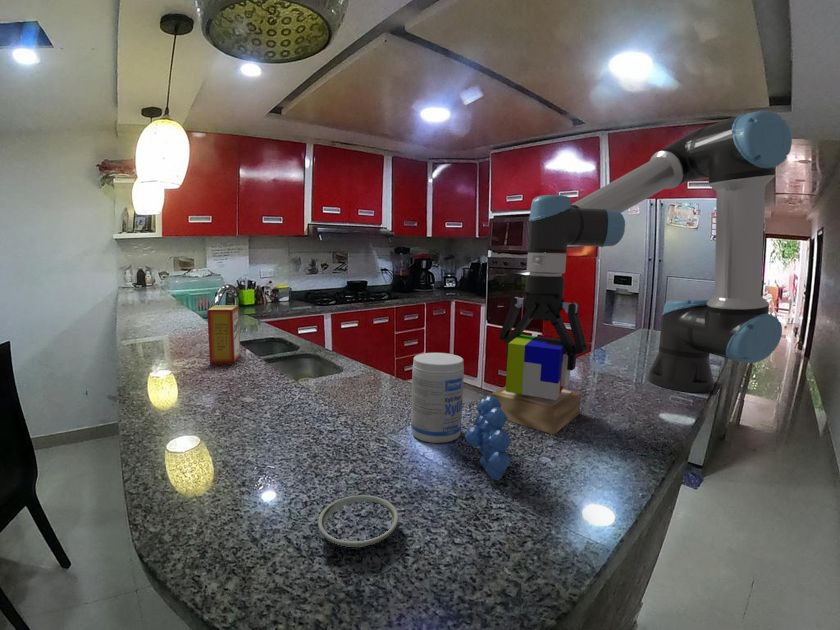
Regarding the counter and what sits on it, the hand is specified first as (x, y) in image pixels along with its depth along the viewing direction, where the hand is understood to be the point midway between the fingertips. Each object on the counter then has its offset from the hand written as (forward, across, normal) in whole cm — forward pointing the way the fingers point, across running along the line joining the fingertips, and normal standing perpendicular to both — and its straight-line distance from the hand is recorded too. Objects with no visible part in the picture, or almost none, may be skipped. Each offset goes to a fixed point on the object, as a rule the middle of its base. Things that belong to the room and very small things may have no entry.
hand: (537, 378), depth 90 cm
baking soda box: (+8, -88, -23) cm, 91 cm away
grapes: (+8, +4, -28) cm, 29 cm away
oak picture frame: (+8, 0, 0) cm, 8 cm away
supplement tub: (+8, -10, -22) cm, 26 cm away
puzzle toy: (+2, 0, -2) cm, 3 cm away
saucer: (+8, 0, -51) cm, 52 cm away
